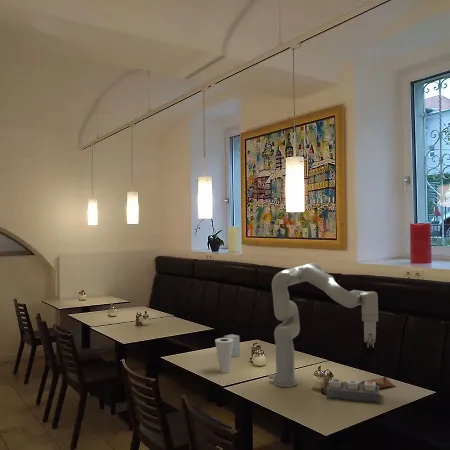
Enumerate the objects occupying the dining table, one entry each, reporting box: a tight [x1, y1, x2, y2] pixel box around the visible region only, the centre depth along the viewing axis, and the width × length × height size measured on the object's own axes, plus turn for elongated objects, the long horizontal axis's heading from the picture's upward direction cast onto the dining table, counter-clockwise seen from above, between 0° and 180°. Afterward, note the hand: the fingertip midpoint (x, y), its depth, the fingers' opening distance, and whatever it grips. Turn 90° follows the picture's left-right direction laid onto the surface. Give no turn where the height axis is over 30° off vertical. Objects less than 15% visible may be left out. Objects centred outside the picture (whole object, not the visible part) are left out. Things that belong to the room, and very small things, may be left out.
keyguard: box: [325, 381, 380, 404], centre depth 243 cm, size 24×13×4 cm, turn 72°
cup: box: [214, 337, 234, 374], centre depth 285 cm, size 11×11×18 cm
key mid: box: [346, 379, 360, 390], centre depth 243 cm, size 5×5×4 cm
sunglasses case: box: [360, 376, 397, 391], centre depth 256 cm, size 18×7×7 cm, turn 119°
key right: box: [364, 380, 376, 391], centre depth 240 cm, size 5×5×4 cm
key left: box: [329, 378, 343, 388], centre depth 245 cm, size 5×5×4 cm
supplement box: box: [223, 333, 241, 359], centre depth 318 cm, size 7×7×13 cm
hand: (371, 353), depth 241 cm, fingers open, 9 cm apart
